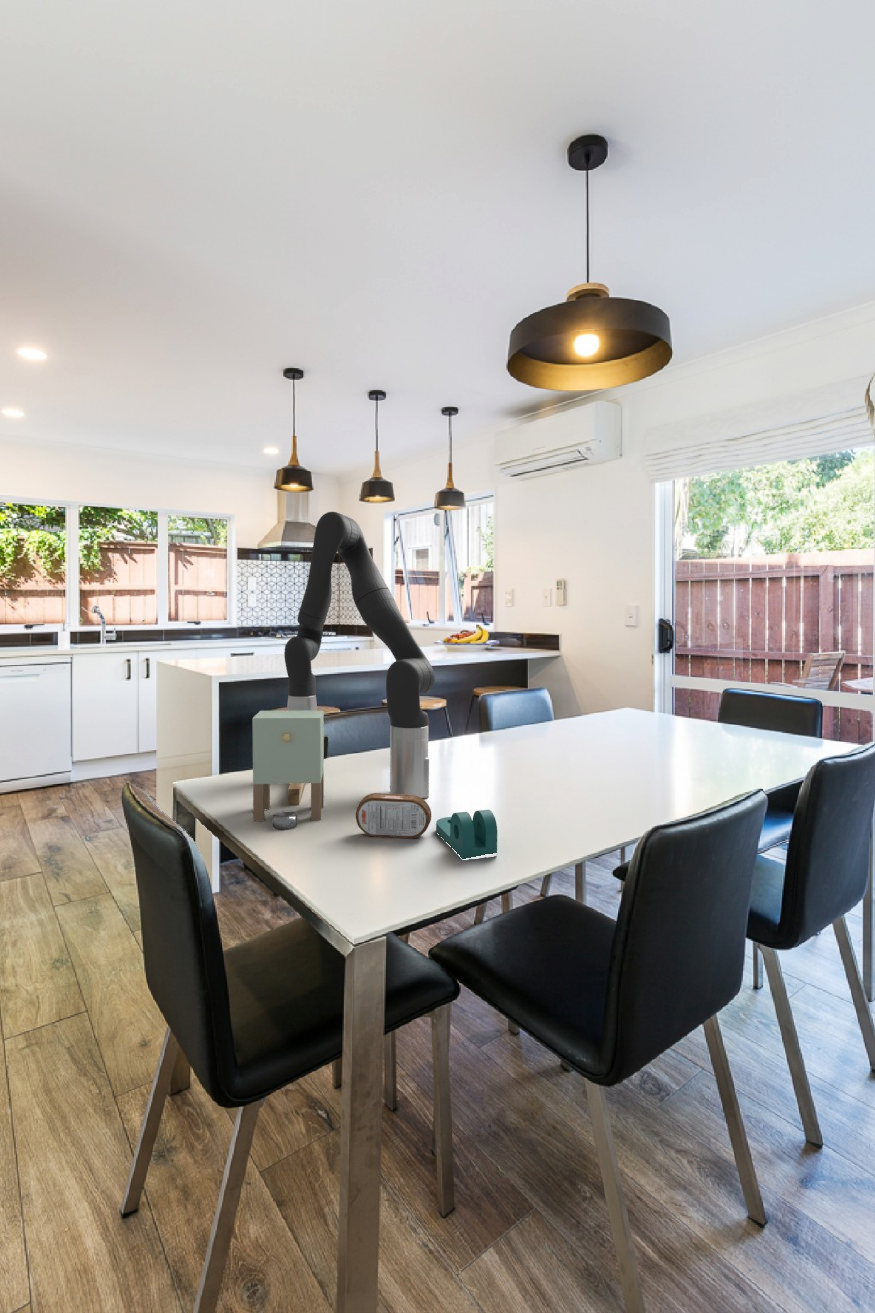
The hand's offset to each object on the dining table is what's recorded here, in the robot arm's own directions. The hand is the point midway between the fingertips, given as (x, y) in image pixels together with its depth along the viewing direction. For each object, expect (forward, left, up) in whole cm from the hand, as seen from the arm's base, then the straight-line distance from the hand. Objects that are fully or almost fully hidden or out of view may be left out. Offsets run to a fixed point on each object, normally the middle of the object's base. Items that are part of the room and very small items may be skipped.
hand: (302, 774), depth 167 cm
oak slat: (0, +10, -2) cm, 10 cm away
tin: (-22, +44, -2) cm, 49 cm away
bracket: (-35, +48, -2) cm, 59 cm away
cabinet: (0, +28, -1) cm, 28 cm away
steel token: (0, +36, -2) cm, 36 cm away
